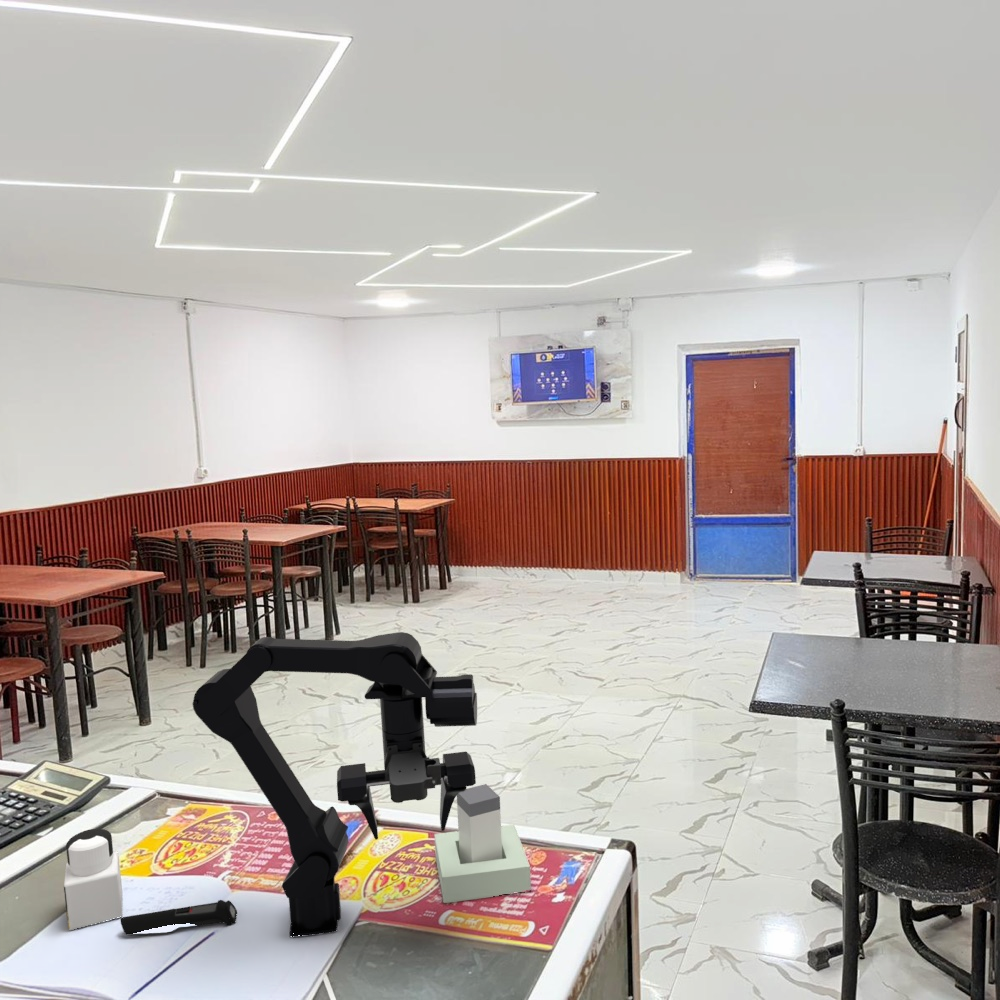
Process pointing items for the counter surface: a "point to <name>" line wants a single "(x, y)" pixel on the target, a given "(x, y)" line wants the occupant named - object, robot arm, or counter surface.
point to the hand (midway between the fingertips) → (409, 833)
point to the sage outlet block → (481, 869)
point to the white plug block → (479, 825)
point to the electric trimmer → (182, 917)
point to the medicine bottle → (92, 879)
